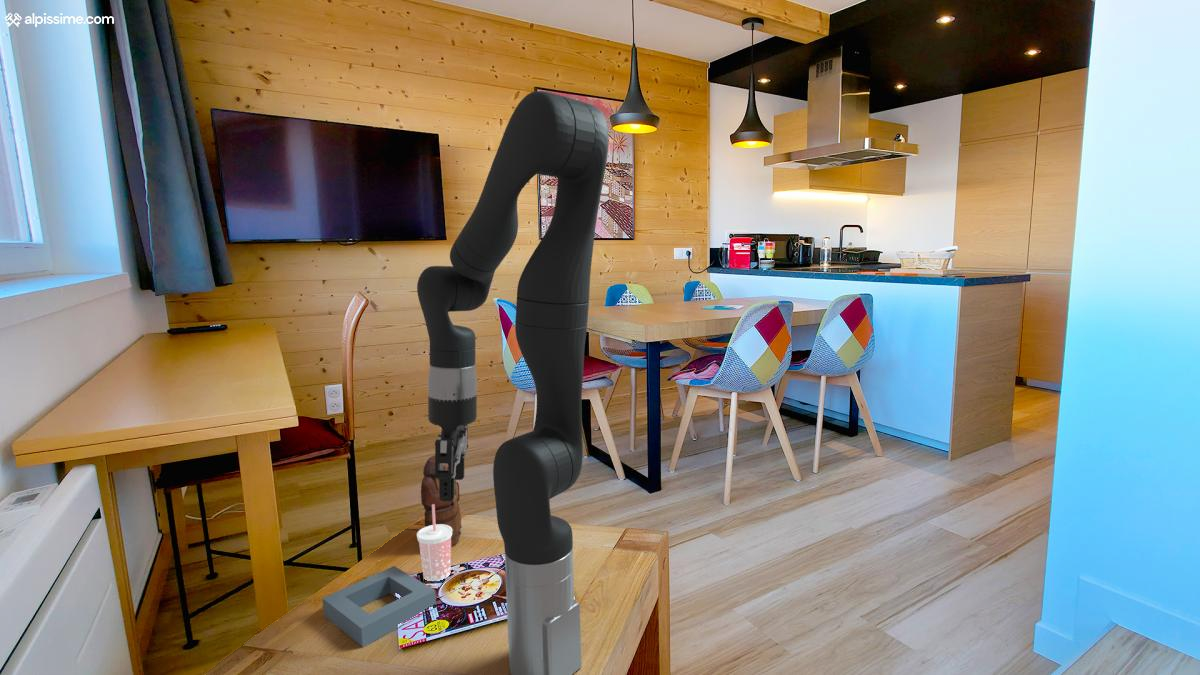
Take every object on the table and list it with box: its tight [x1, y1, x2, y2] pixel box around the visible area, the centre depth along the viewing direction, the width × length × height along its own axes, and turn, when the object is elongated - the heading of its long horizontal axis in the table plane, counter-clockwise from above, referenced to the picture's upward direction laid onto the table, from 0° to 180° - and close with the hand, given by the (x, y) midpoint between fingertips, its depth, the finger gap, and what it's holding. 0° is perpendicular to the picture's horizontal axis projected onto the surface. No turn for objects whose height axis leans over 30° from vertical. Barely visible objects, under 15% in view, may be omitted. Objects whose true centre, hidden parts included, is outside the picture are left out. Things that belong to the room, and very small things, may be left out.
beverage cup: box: [416, 504, 453, 581], centre depth 101 cm, size 6×6×14 cm
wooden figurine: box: [420, 454, 463, 548], centre depth 116 cm, size 12×6×18 cm, turn 3°
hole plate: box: [321, 565, 437, 648], centre depth 92 cm, size 13×13×3 cm
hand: (452, 489), depth 93 cm, fingers open, 8 cm apart
